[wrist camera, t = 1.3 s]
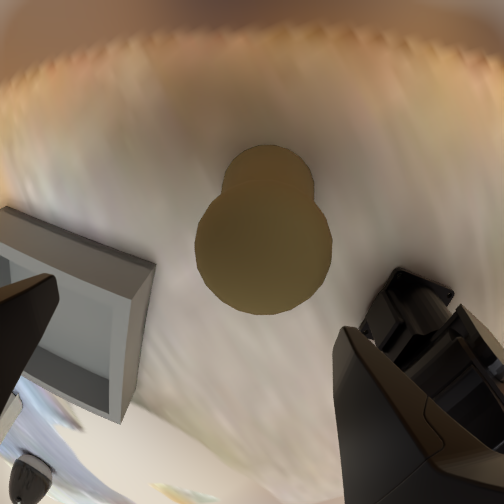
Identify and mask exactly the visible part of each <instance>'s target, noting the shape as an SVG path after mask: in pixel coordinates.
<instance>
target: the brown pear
mask: <svg viewBox="0 0 504 504" xmlns="http://www.w3.org/2000/svg"><path fill="white" fill-rule="evenodd" d="M195 255H196V262H197V268H198V270H199V272H200V274H201V276H202V278H203V280H204V282H205V284H206V286H207V287H208V288H209V289H210V290H211V291H212V292H213V293H214V294H215V295H216V296H217V297H218V298H219V299H220V300H221V301H222V302H224V303H226V304H227V305H229V306H231V307H233V308H234V309H236V310H238V311H242V312H246V313H250V314H254V315H274V314H278V313H281V312H285V311H288V310H291V309H293V308H295V307H296V306H298V305H300V304H301V303H303V302H304V301H306V300H308V299H309V298H310V297H311V296H312V295H313V294H314V293H315V292H316V291H317V289H318V288H319V287H320V286H321V285H322V284H323V282H324V279H325V277H326V275H327V272H328V270H329V267H330V264H331V258H332V236H331V233H330V230H329V226H328V223H327V220H326V218H325V216H324V214H323V213H322V211H321V210H320V209H319V207H318V206H317V205H316V203H315V202H314V181H313V178H312V175H311V172H310V169H309V168H308V167H307V165H306V164H305V163H304V161H303V160H302V159H301V158H300V157H299V156H298V155H296V154H295V153H293V152H292V151H290V150H289V149H286V148H283V147H279V146H275V145H260V146H256V147H253V148H251V149H248V150H245V151H244V152H242V153H241V154H240V155H239V156H237V157H236V158H235V159H234V160H233V161H232V163H231V164H230V166H229V167H228V169H227V170H226V172H225V176H224V180H223V184H222V191H221V195H220V196H218V197H217V198H216V199H215V200H213V201H212V203H211V204H210V205H209V207H208V209H207V210H206V212H205V213H204V215H203V217H202V218H201V220H200V222H199V224H198V228H197V233H196V238H195Z"/></svg>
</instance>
